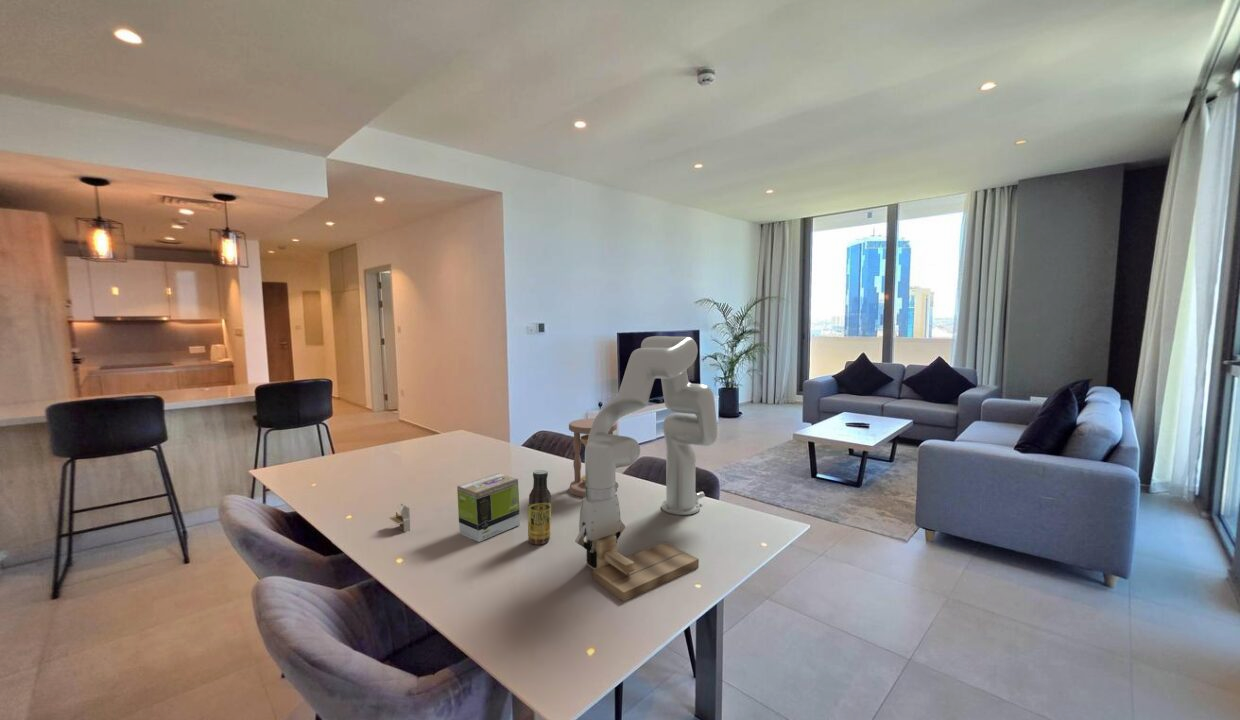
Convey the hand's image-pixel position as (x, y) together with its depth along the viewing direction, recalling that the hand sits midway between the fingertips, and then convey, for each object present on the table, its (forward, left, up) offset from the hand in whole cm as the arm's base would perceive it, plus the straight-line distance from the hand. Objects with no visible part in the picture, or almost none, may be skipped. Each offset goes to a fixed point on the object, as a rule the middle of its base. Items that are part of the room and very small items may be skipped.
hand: (601, 561), depth 120 cm
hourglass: (-31, -48, -2) cm, 57 cm away
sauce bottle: (+5, -23, -2) cm, 23 cm away
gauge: (0, +4, -1) cm, 4 cm away
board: (-7, +9, -1) cm, 12 cm away
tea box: (+13, -39, -2) cm, 41 cm away
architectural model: (+33, -56, -2) cm, 65 cm away
